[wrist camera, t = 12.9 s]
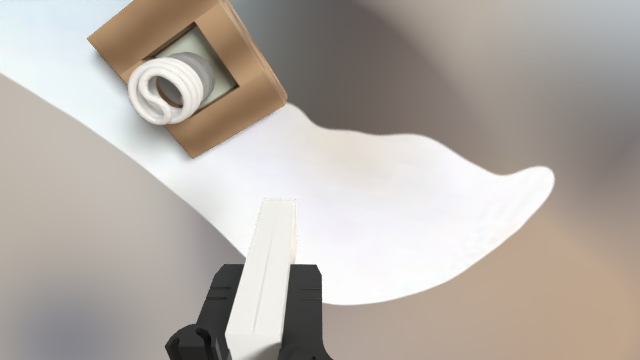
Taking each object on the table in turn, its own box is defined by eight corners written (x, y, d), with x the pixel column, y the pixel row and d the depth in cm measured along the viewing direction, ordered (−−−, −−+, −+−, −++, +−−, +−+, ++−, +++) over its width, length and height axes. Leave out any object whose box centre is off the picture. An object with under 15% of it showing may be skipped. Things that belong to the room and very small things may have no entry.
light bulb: (168, 48, 34) (103, 68, 23) (216, 43, 33) (173, 61, 23) (184, 97, 37) (133, 135, 26) (229, 93, 36) (195, 129, 26)
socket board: (109, 34, 34) (86, 38, 31) (203, -40, 31) (189, -45, 27) (203, 145, 41) (193, 158, 38) (288, 95, 38) (285, 104, 34)
